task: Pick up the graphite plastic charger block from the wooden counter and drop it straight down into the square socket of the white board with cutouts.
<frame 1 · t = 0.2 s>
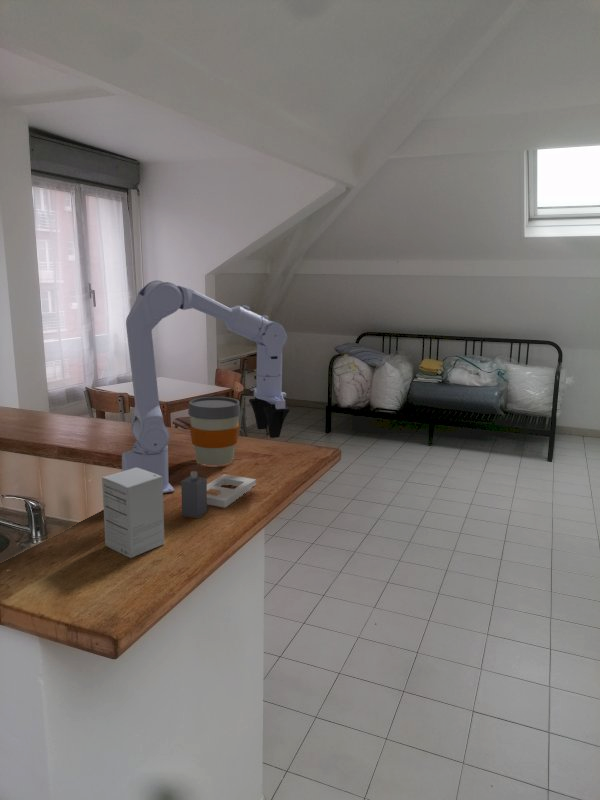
hand: (268, 433, 144), 10 cm above the worktop, fingers open, 7 cm apart
reusable coffee cup: (214, 462, 154), on the worktop
white board with cutouts: (224, 493, 133), on the worktop
supplement box: (134, 546, 108), on the worktop
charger: (194, 513, 122), on the worktop
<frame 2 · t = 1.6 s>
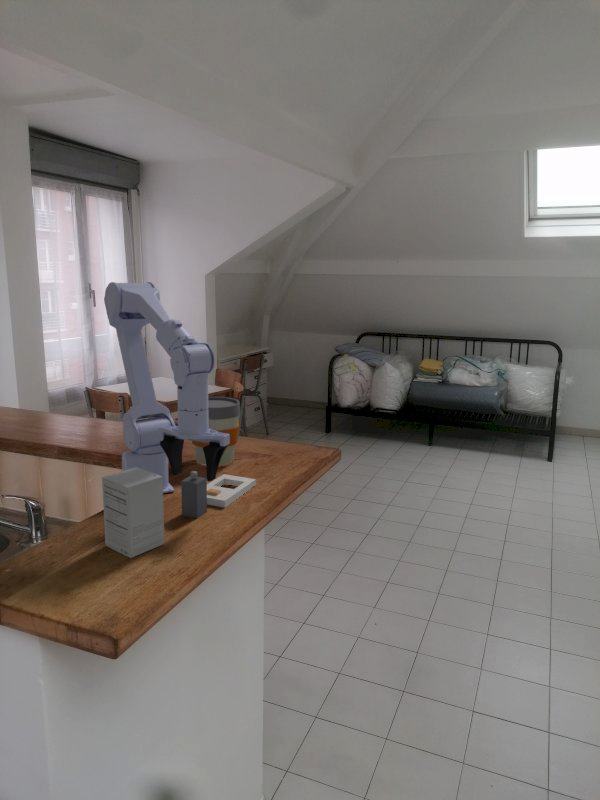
hand: (194, 476, 121), 8 cm above the worktop, fingers open, 7 cm apart
nothing on the worktop moved.
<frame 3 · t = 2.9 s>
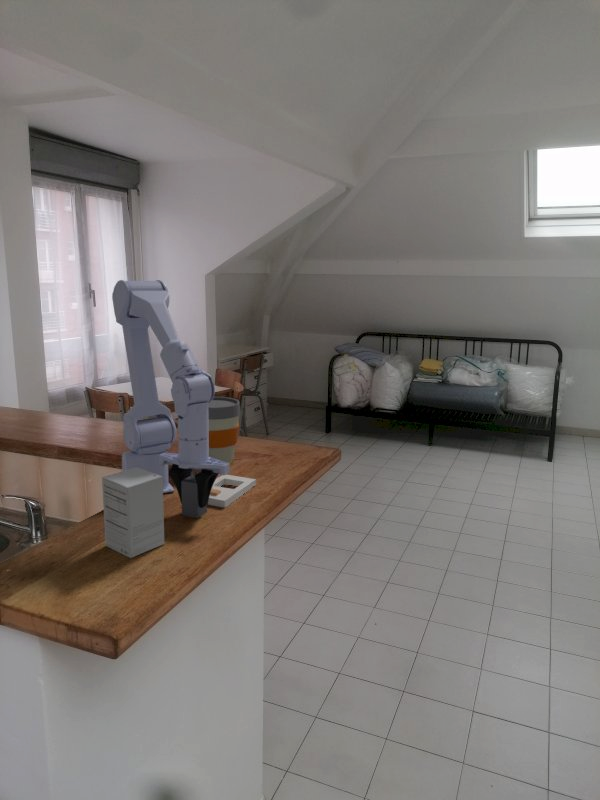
hand: (194, 504, 122), 2 cm above the worktop, fingers closed on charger, 3 cm apart
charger: (194, 513, 122), on the worktop, touching gripper
everything else where it was.
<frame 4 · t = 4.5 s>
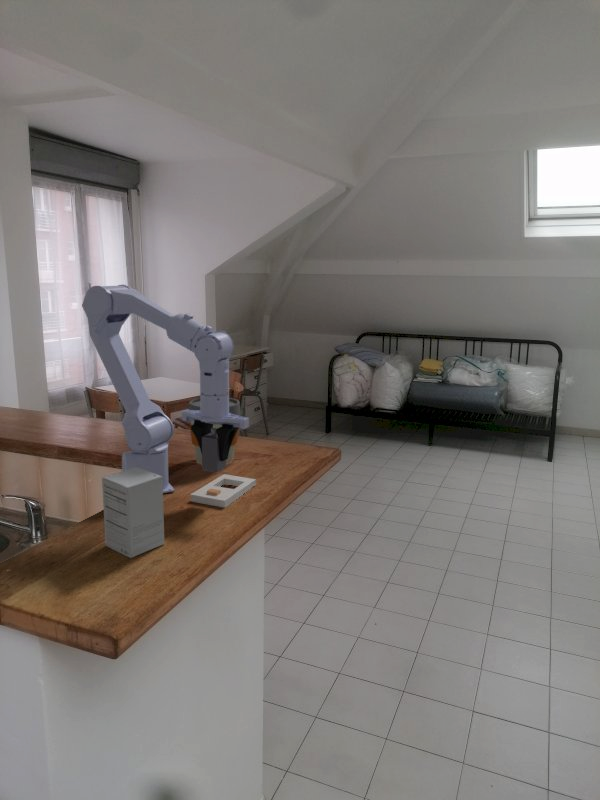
hand: (215, 458, 128), 9 cm above the worktop, fingers closed on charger, 3 cm apart
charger: (214, 468, 128), point 7 cm above the worktop, touching gripper
everything else where it was.
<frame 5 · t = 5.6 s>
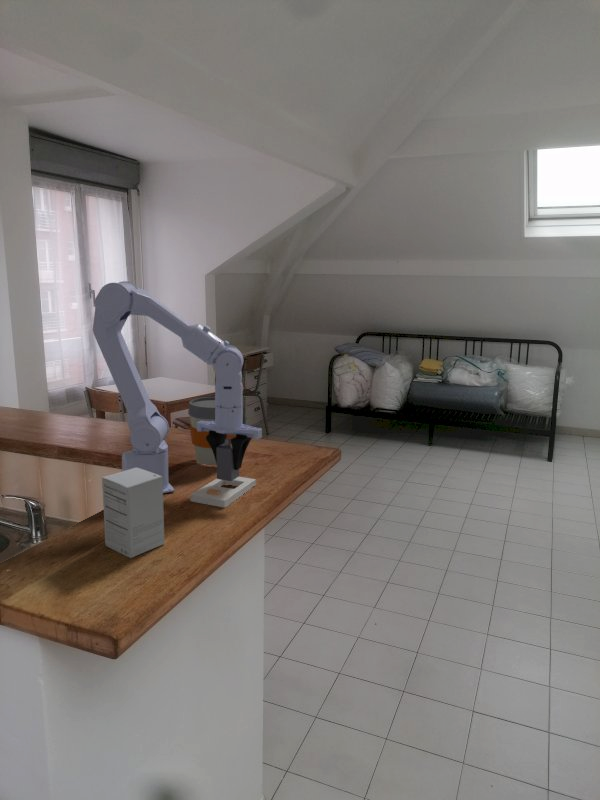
hand: (229, 467, 134), 5 cm above the worktop, fingers closed on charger, 3 cm apart
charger: (228, 477, 134), point 3 cm above the worktop, touching gripper
everything else where it was.
when the fingers open (3 cm above the worktop, at t = 6.4 s): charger stays where it is, resting in white board with cutouts.
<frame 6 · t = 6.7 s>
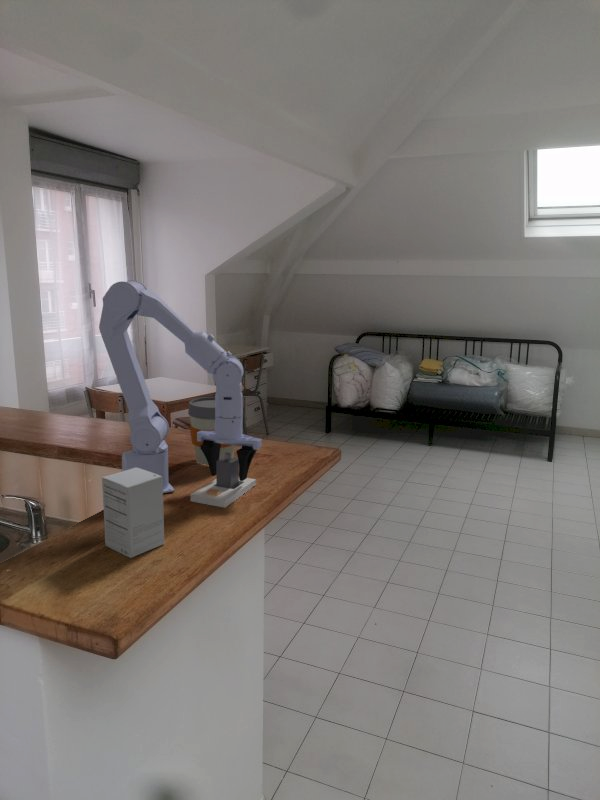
hand: (228, 477, 134), 3 cm above the worktop, fingers open, 6 cm apart
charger: (227, 491, 135), resting in white board with cutouts
everything else where it was.
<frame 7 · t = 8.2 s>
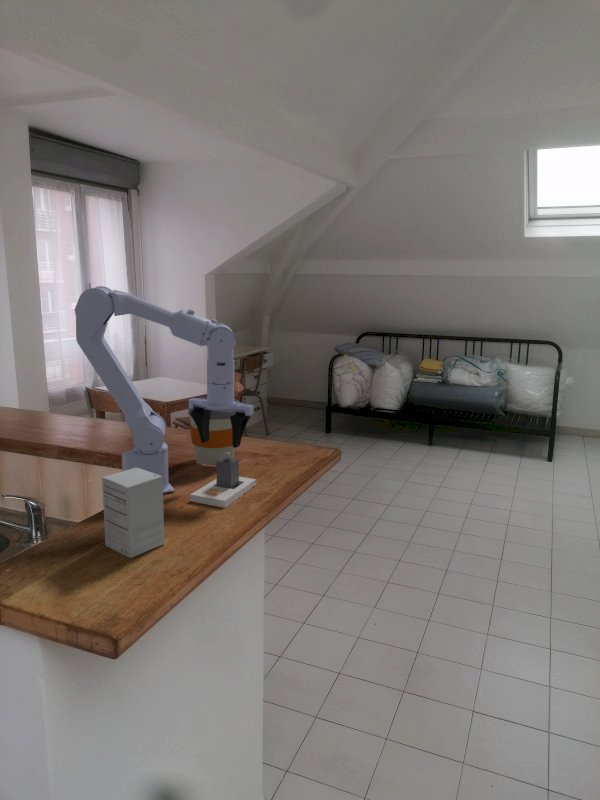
hand: (220, 444, 135), 10 cm above the worktop, fingers open, 7 cm apart
nothing on the worktop moved.
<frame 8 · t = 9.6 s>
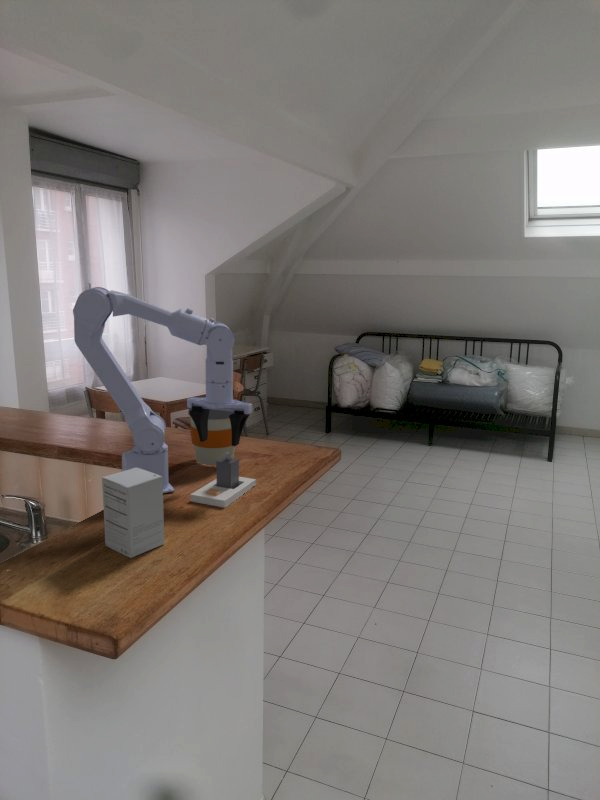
hand: (219, 442, 135), 10 cm above the worktop, fingers open, 7 cm apart
nothing on the worktop moved.
at the end: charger 0.5 cm from the target spot on the white board with cutouts, point 0.0 cm above the white board with cutouts's base; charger tilted 0°; the gripper is holding nothing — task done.
